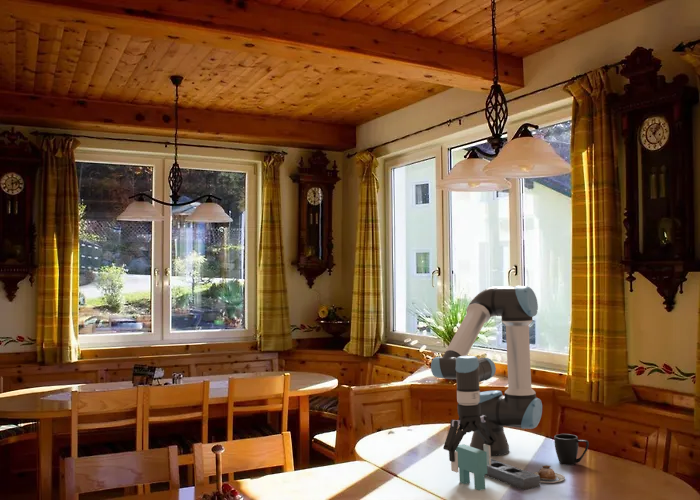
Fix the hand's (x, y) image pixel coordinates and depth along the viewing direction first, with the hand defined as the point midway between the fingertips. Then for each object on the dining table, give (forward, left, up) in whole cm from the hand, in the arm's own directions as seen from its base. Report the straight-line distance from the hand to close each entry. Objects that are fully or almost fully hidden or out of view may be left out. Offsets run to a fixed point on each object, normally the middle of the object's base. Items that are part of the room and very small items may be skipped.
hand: (471, 468), depth 214 cm
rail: (0, +14, -6) cm, 15 cm away
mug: (0, +45, -6) cm, 46 cm away
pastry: (+8, +25, -6) cm, 27 cm away
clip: (0, 0, -6) cm, 6 cm away
